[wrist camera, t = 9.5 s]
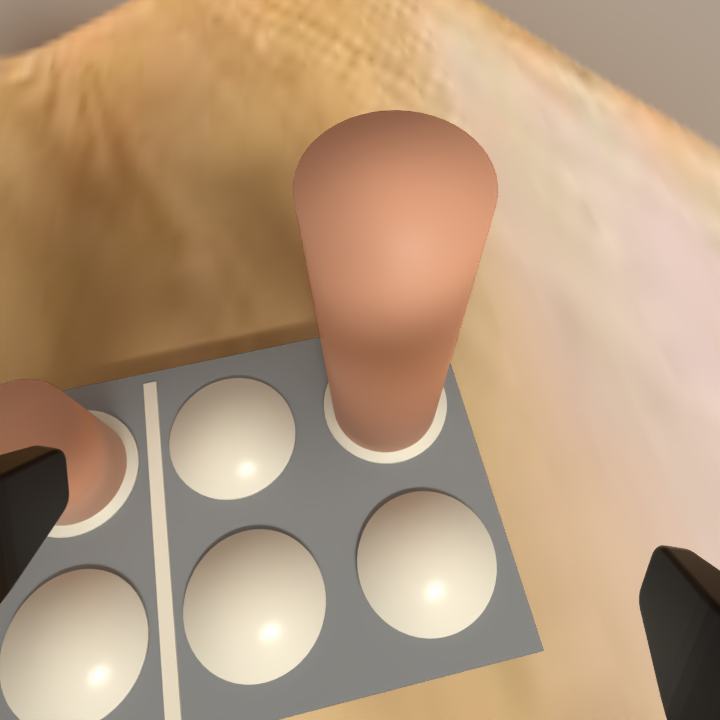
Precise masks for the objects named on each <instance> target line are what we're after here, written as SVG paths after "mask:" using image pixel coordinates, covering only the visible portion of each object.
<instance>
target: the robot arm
mask: <svg viewBox="0 0 720 720" xmlns="http://www.w3.org/2000/svg"><path fill="white" fill-rule="evenodd" d="M68 501H69V483H68V473H67V462H66V456H65V454H64V452H63V451H62V450H60V449H58V448H52V447H46V446H40V445H35V446H31V447H27V448H23V449H20V450H16V451H12V452H9V453H5V454H1V455H0V604H1V603H2V601H3V600H4V599H5V598H6V596H7V595H8V594H9V592H10V591H11V590H12V588H13V587H14V585H15V584H16V582H17V581H18V580H19V578H20V577H21V575H22V574H23V572H24V571H25V569H26V568H27V566H28V565H29V563H30V562H31V560H32V559H33V557H34V556H35V554H36V553H37V551H38V550H39V548H40V547H41V545H42V544H43V542H44V541H45V539H46V538H47V536H48V535H49V533H50V532H51V530H52V529H53V527H54V526H55V524H56V523H57V521H58V520H59V518H60V517H61V515H62V514H63V512H64V511H65V509H66V507H67V504H68ZM639 605H640V611H641V615H642V619H643V623H644V628H645V632H646V636H647V640H648V645H649V649H650V653H651V657H652V662H653V666H654V670H655V674H656V679H657V683H658V687H659V691H660V696H661V700H662V703H663V707H664V711H665V715H666V718H667V720H720V570H718V569H717V568H715V567H714V566H712V565H711V564H710V563H708V562H707V561H705V560H704V559H702V558H701V557H699V556H698V555H697V554H695V553H694V552H692V551H690V550H688V549H684V548H677V547H671V546H664V545H661V546H659V547H657V548H656V549H655V550H654V552H653V554H652V557H651V560H650V563H649V565H648V568H647V571H646V574H645V577H644V580H643V583H642V586H641V589H640V594H639Z"/></svg>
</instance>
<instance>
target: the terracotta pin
mask: <svg viewBox="0 0 720 720" xmlns="http://www.w3.org/2000/svg"><path fill="white" fill-rule="evenodd" d="M293 196H294V203H295V208H296V213H297V219H298V224H299V229H300V234H301V240H302V245H303V250H304V256H305V261H306V266H307V271H308V277H309V282H310V287H311V293H312V298H313V303H314V308H315V314H316V319H317V324H318V330H319V335H320V340H321V345H322V351H323V356H324V361H325V367H326V372H327V377H328V382H329V388H330V393H331V398H332V404H333V409H334V414H335V417H336V420H337V423H338V425H339V427H340V428H341V430H342V431H343V433H344V434H345V435H346V436H347V437H348V438H349V439H350V440H351V441H352V442H354V443H355V444H357V445H359V446H360V447H362V448H365V449H368V450H371V451H375V452H383V453H384V452H396V451H400V450H403V449H406V448H408V447H410V446H412V445H413V444H415V443H417V442H418V441H419V440H420V439H421V438H422V437H423V436H424V435H425V434H426V433H427V431H428V430H429V429H430V427H431V425H432V423H433V420H434V417H435V414H436V410H437V407H438V403H439V400H440V396H441V393H442V390H443V386H444V383H445V379H446V376H447V372H448V369H449V366H450V362H451V359H452V355H453V352H454V348H455V345H456V341H457V338H458V335H459V331H460V328H461V324H462V321H463V317H464V314H465V311H466V307H467V304H468V300H469V297H470V293H471V290H472V287H473V283H474V280H475V276H476V273H477V269H478V266H479V263H480V259H481V256H482V252H483V249H484V245H485V242H486V239H487V235H488V232H489V228H490V225H491V221H492V218H493V215H494V211H495V208H496V203H497V198H498V182H497V176H496V173H495V170H494V167H493V164H492V162H491V160H490V158H489V157H488V155H487V153H486V152H485V151H484V149H483V148H482V147H481V146H480V145H479V143H478V142H477V141H476V140H475V139H474V138H472V137H471V136H470V135H469V134H467V133H466V132H465V131H463V130H462V129H460V128H459V127H457V126H455V125H454V124H451V123H449V122H447V121H445V120H443V119H440V118H437V117H435V116H431V115H427V114H423V113H418V112H412V111H400V110H391V111H378V112H371V113H367V114H362V115H359V116H356V117H353V118H350V119H347V120H345V121H343V122H341V123H338V124H337V125H335V126H333V127H332V128H330V129H328V130H327V131H325V132H324V133H323V134H322V135H320V136H319V137H318V138H317V139H316V140H315V141H314V142H313V143H312V144H311V145H310V146H309V147H308V149H307V150H306V151H305V153H304V154H303V156H302V158H301V160H300V161H299V164H298V166H297V169H296V171H295V176H294V181H293Z"/></svg>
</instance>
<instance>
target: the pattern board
mask: <svg viewBox="0 0 720 720" xmlns="http://www.w3.org/2000/svg"><path fill="white" fill-rule="evenodd" d="M35 445H40V446H46V447H52V448H58V449H60V450H62V451H63V452H64V454H65V456H66V462H67V473H68V483H69V501H68V504H67V507H66V509H65V511H64V512H63V514H62V515H61V517H60V518H59V520H58V521H57V523H56V524H55V526H54V527H53V529H52V530H51V532H50V533H49V535H48V536H47V538H46V539H45V541H44V542H43V544H42V545H41V547H40V548H39V550H38V551H37V553H36V554H35V556H34V557H33V559H32V560H31V562H30V563H29V565H28V566H27V568H26V569H25V571H24V572H23V574H22V575H21V577H20V578H19V580H18V581H17V582H16V584H15V585H14V587H13V588H12V590H11V591H10V592H9V594H8V595H7V596H6V598H5V599H4V600H3V601H2V603H1V604H0V720H279V719H283V718H286V717H290V716H294V715H298V714H302V713H306V712H310V711H313V710H317V709H321V708H325V707H329V706H333V705H337V704H340V703H344V702H348V701H352V700H356V699H360V698H364V697H367V696H371V695H375V694H379V693H383V692H387V691H391V690H394V689H398V688H402V687H406V686H410V685H414V684H418V683H421V682H425V681H429V680H433V679H437V678H441V677H445V676H448V675H452V674H456V673H460V672H464V671H468V670H471V669H475V668H479V667H483V666H487V665H491V664H495V663H498V662H502V661H506V660H510V659H514V658H518V657H522V656H525V655H529V654H533V653H537V652H541V651H544V649H543V646H542V643H541V640H540V637H539V634H538V631H537V628H536V625H535V622H534V619H533V616H532V613H531V609H530V606H529V603H528V600H527V597H526V594H525V591H524V588H523V585H522V582H521V579H520V576H519V573H518V570H517V566H516V563H515V560H514V557H513V554H512V551H511V548H510V545H509V542H508V539H507V536H506V533H505V530H504V526H503V523H502V520H501V517H500V514H499V511H498V508H497V505H496V502H495V499H494V496H493V493H492V490H491V487H490V483H489V480H488V477H487V474H486V471H485V468H484V465H483V462H482V459H481V456H480V453H479V450H478V447H477V443H476V440H475V437H474V434H473V431H472V428H471V425H470V422H469V419H468V416H467V413H466V410H465V407H464V404H463V400H462V397H461V394H460V391H459V388H458V385H457V382H456V379H455V376H454V373H453V370H452V367H451V364H450V366H449V369H448V372H447V376H446V379H445V383H444V386H443V390H442V393H441V396H440V400H439V403H438V407H437V410H436V414H435V417H434V420H433V423H432V425H431V427H430V429H429V430H428V431H427V433H426V434H425V435H424V436H423V437H422V438H421V439H420V440H419V441H418V442H417V443H415V444H413V445H412V446H410V447H408V448H406V449H403V450H400V451H396V452H384V453H383V452H375V451H371V450H368V449H365V448H362V447H360V446H359V445H357V444H355V443H354V442H352V441H351V440H350V439H349V438H348V437H347V436H346V435H345V434H344V433H343V431H342V430H341V428H340V427H339V425H338V423H337V420H336V417H335V414H334V409H333V404H332V398H331V393H330V388H329V382H328V377H327V372H326V367H325V361H324V356H323V351H322V345H321V340H320V337H318V338H313V339H309V340H304V341H299V342H294V343H289V344H285V345H280V346H275V347H270V348H265V349H261V350H256V351H251V352H246V353H241V354H237V355H232V356H227V357H222V358H217V359H213V360H208V361H203V362H198V363H193V364H189V365H184V366H179V367H174V368H169V369H165V370H160V371H155V372H150V373H145V374H141V375H136V376H131V377H126V378H121V379H116V380H112V381H107V382H102V383H97V384H92V385H88V386H83V387H78V388H73V389H68V390H64V391H61V390H59V389H58V388H57V387H55V386H53V385H51V384H49V383H46V382H44V381H39V380H32V379H21V380H14V381H10V382H6V383H3V384H0V455H1V454H5V453H9V452H12V451H16V450H20V449H23V448H27V447H31V446H35Z"/></svg>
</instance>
